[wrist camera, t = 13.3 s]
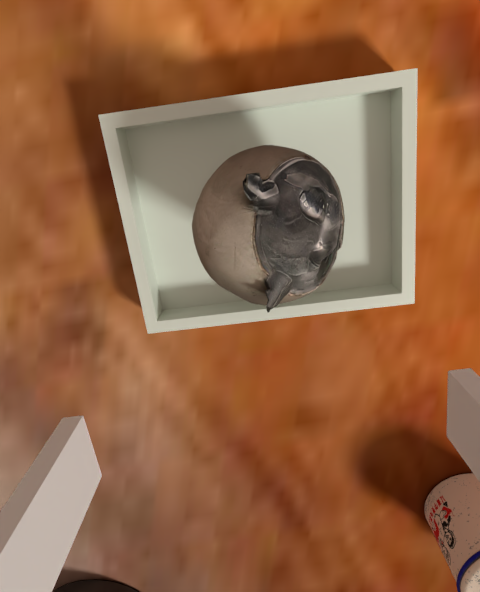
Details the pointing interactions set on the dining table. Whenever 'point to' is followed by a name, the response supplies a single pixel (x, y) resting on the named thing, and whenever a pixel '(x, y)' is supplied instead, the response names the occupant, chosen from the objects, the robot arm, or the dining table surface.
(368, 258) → the serving tray
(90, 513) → the dining table surface
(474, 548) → the teacup with lid
